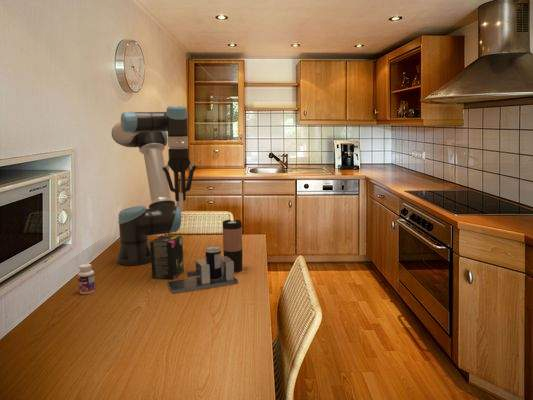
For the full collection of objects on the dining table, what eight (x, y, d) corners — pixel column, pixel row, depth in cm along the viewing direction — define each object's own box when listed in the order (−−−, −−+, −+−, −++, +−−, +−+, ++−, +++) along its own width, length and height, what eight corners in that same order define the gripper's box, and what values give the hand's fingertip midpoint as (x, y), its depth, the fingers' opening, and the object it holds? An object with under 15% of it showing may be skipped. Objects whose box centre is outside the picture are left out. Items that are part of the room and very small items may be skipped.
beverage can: (219, 275, 176) (218, 245, 175) (223, 280, 171) (222, 248, 169) (204, 277, 174) (203, 246, 172) (209, 282, 169) (207, 250, 167)
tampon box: (174, 279, 177) (172, 242, 174) (151, 278, 179) (149, 241, 176) (184, 270, 187) (182, 235, 185) (163, 269, 189) (161, 234, 187)
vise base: (167, 285, 171) (165, 263, 170) (228, 275, 180) (228, 255, 179) (172, 293, 162) (171, 271, 160) (237, 283, 171) (237, 261, 170)
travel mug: (231, 274, 182) (230, 224, 179) (220, 270, 187) (218, 221, 184) (246, 270, 187) (245, 221, 184) (235, 266, 192) (233, 218, 189)
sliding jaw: (185, 279, 172) (184, 261, 171) (204, 277, 175) (203, 259, 174) (191, 286, 165) (190, 267, 164) (210, 283, 168) (209, 264, 167)
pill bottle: (75, 293, 164) (73, 266, 163) (86, 288, 169) (84, 262, 168) (88, 295, 162) (85, 268, 161) (98, 290, 167) (96, 263, 166)
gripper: (162, 149, 169) (165, 212, 174) (197, 147, 174) (199, 209, 178) (159, 147, 176) (162, 208, 181) (193, 146, 181) (195, 206, 185)
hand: (180, 209), depth 180 cm, fingers closed
